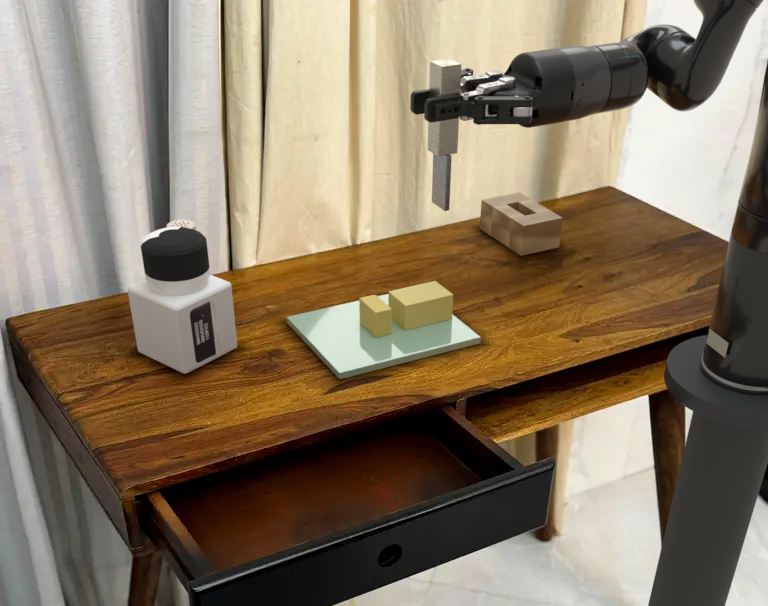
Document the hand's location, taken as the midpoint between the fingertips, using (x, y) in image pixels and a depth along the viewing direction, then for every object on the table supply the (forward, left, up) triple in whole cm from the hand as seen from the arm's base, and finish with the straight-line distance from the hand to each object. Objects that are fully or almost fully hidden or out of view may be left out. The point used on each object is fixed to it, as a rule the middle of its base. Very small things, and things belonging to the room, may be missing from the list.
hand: (419, 107), depth 102 cm
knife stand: (0, -24, -22) cm, 32 cm away
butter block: (-4, +4, -21) cm, 22 cm away
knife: (-1, -3, -11) cm, 11 cm away
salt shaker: (+20, +16, -22) cm, 34 cm away
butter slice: (-1, +9, -21) cm, 23 cm away
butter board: (-2, +8, -22) cm, 24 cm away
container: (+12, +24, -22) cm, 35 cm away
